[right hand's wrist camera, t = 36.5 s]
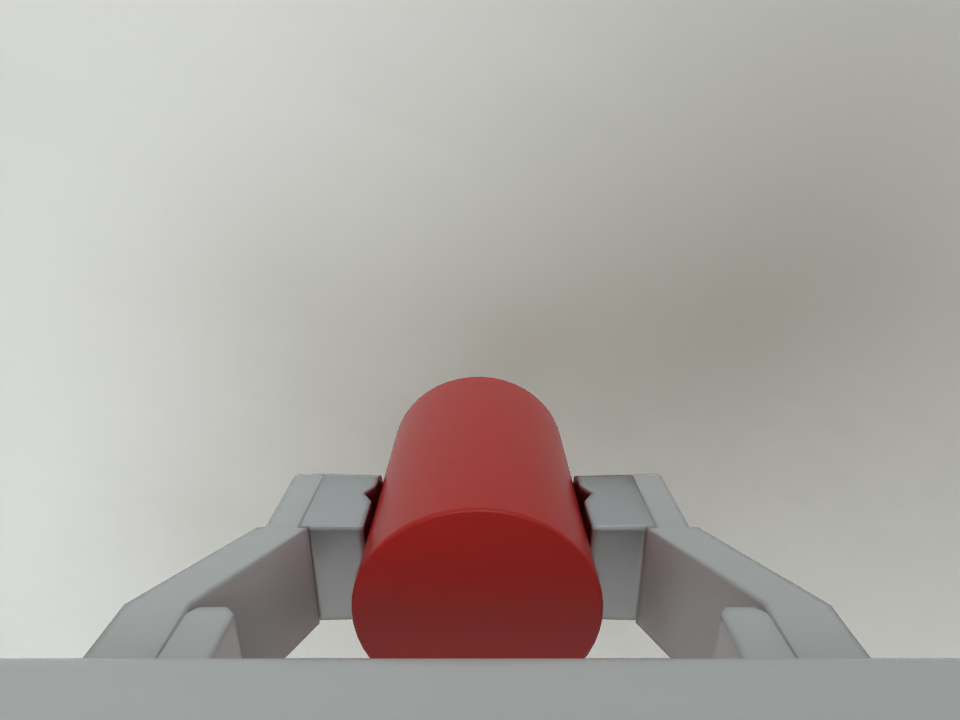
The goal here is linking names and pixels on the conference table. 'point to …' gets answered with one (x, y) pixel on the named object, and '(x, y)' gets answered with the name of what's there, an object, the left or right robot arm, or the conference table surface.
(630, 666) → the right robot arm
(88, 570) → the conference table surface
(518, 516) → the tin
